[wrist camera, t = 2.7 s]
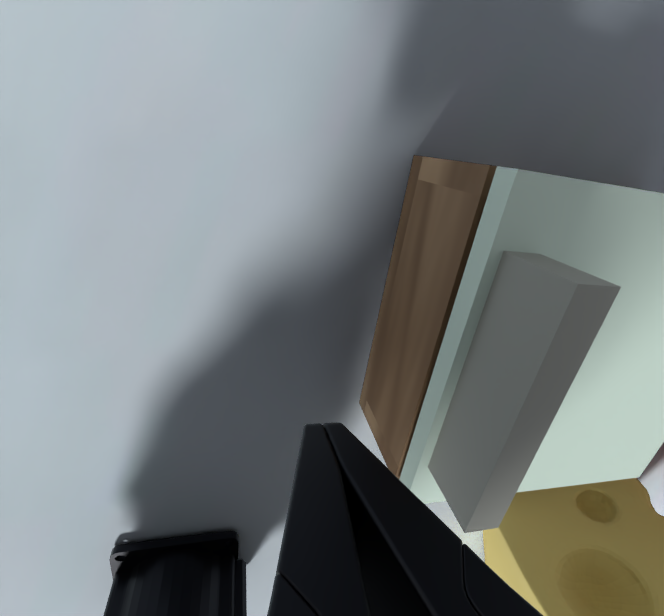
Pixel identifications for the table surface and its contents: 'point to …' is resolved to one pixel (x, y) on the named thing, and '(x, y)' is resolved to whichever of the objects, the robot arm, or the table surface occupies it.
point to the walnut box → (420, 295)
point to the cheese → (582, 550)
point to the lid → (547, 349)
